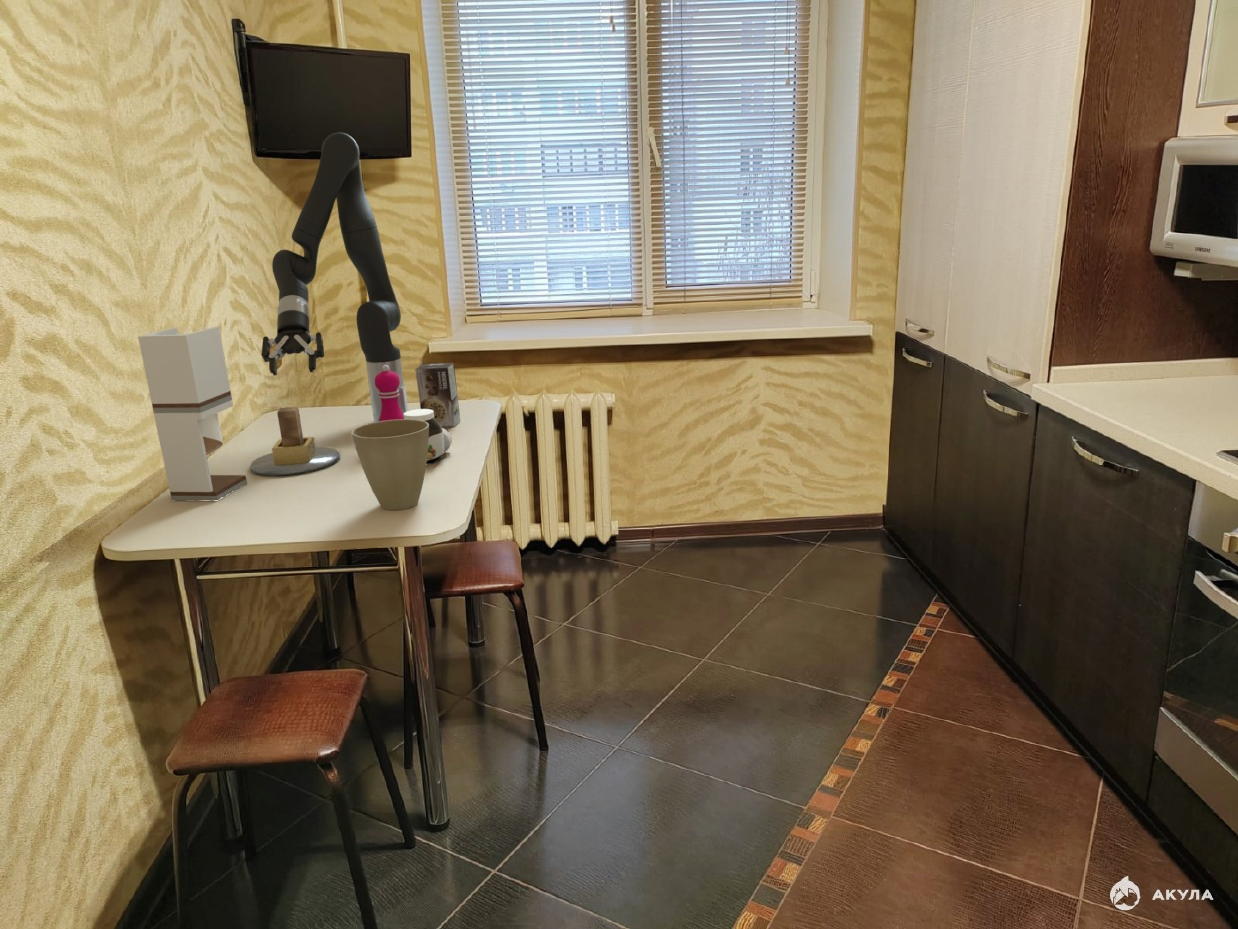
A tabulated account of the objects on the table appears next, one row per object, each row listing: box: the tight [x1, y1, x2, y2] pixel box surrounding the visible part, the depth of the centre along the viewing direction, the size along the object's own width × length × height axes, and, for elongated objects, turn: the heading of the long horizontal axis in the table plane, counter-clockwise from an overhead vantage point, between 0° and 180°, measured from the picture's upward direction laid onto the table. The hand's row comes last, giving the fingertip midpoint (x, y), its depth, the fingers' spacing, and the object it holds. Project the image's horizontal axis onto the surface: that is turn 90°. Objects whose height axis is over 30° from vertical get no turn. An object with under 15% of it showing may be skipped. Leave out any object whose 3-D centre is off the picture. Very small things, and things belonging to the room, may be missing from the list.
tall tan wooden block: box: [276, 406, 304, 447], centre depth 213 cm, size 4×4×12 cm
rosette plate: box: [250, 436, 341, 478], centre depth 214 cm, size 20×20×5 cm
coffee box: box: [414, 362, 461, 428], centre depth 242 cm, size 9×6×16 cm
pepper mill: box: [375, 365, 404, 422], centre depth 225 cm, size 7×7×20 cm
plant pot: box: [351, 419, 429, 511], centre depth 181 cm, size 15×15×16 cm
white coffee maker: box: [137, 326, 248, 501], centre depth 191 cm, size 11×11×35 cm
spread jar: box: [404, 408, 453, 465], centre depth 212 cm, size 12×11×12 cm
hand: (292, 372), depth 218 cm, fingers open, 8 cm apart
